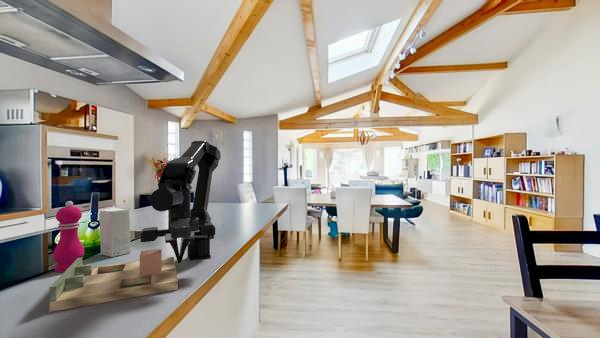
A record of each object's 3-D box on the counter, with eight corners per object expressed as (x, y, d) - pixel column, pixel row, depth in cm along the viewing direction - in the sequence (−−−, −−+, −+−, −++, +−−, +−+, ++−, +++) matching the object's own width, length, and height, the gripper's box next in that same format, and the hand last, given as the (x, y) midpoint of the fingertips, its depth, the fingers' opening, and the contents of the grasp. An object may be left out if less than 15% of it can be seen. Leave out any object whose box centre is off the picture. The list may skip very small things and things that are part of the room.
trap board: (173, 263, 87) (173, 247, 87) (177, 289, 68) (177, 268, 68) (77, 276, 77) (77, 258, 77) (49, 311, 57) (49, 287, 57)
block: (161, 266, 78) (161, 248, 78) (161, 272, 74) (161, 253, 74) (140, 269, 76) (140, 251, 76) (139, 275, 72) (139, 255, 72)
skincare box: (130, 253, 99) (131, 209, 99) (110, 258, 93) (110, 211, 93) (119, 249, 103) (119, 207, 103) (98, 254, 98) (98, 209, 98)
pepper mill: (58, 274, 78) (58, 203, 78) (48, 270, 82) (49, 201, 82) (88, 267, 84) (88, 200, 84) (78, 263, 88) (78, 199, 88)
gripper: (139, 212, 67) (139, 278, 67) (219, 207, 75) (219, 265, 75) (141, 207, 77) (141, 264, 77) (212, 203, 85) (212, 255, 85)
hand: (179, 262), depth 78 cm, fingers closed
